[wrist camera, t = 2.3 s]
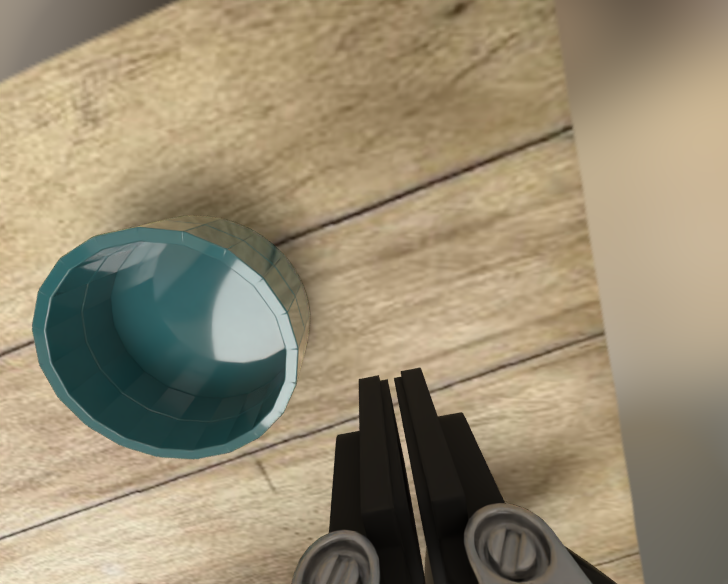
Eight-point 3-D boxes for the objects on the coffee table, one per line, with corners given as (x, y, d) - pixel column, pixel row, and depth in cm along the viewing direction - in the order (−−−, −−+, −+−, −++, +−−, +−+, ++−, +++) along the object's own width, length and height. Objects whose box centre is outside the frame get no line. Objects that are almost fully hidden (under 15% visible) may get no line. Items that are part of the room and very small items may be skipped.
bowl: (96, 204, 19) (7, 213, 14) (316, 226, 19) (304, 243, 15) (119, 392, 22) (55, 452, 17) (304, 405, 23) (292, 466, 18)
